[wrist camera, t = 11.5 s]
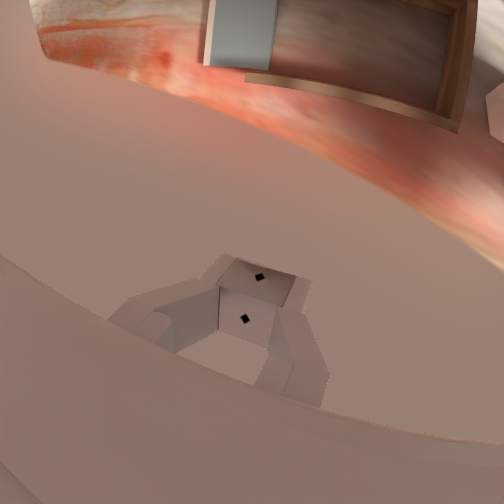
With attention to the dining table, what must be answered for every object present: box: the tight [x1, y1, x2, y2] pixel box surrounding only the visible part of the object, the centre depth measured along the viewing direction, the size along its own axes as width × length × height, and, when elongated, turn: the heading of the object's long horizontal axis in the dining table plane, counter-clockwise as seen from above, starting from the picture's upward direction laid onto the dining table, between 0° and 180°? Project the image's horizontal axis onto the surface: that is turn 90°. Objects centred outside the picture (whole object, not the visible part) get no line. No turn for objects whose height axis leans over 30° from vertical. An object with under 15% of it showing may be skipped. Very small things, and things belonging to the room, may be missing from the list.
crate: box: [245, 0, 478, 134], centre depth 24 cm, size 20×14×8 cm
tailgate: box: [203, 0, 278, 71], centre depth 30 cm, size 1×11×8 cm
